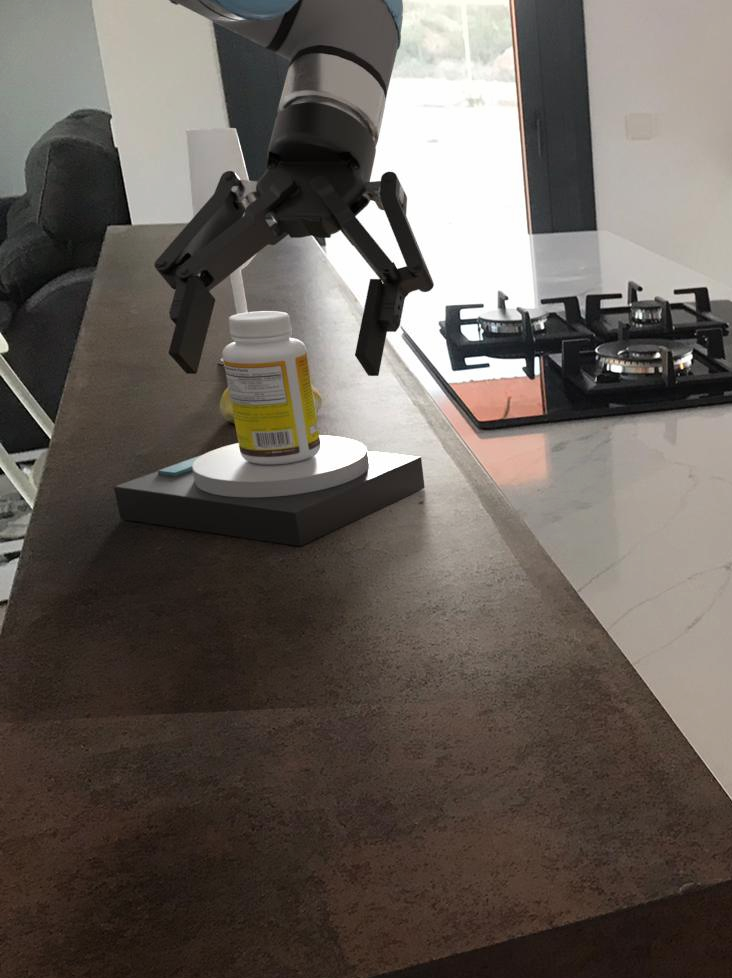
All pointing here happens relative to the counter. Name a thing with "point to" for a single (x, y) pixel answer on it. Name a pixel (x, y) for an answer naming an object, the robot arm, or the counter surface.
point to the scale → (272, 492)
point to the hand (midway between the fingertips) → (274, 365)
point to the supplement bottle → (270, 390)
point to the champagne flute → (216, 179)
